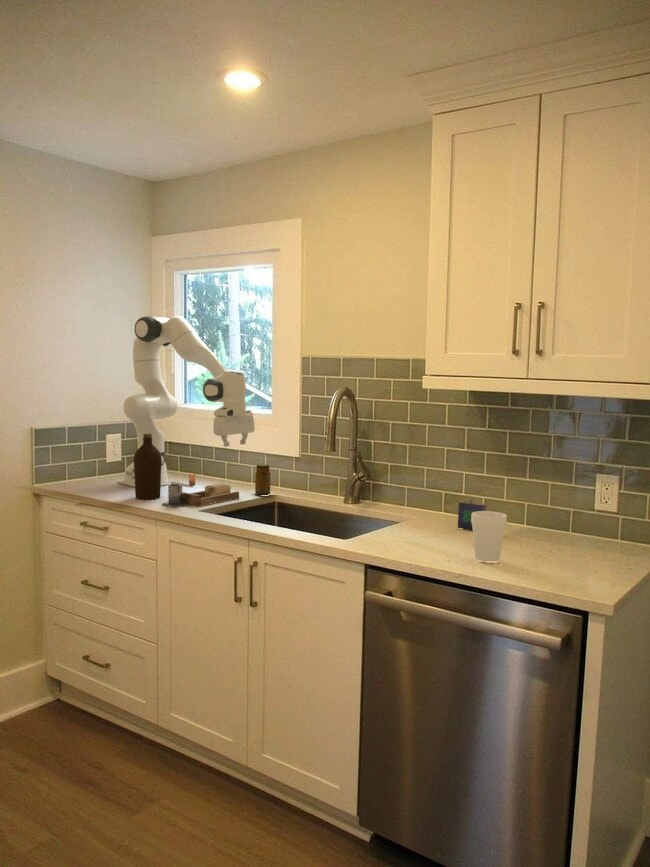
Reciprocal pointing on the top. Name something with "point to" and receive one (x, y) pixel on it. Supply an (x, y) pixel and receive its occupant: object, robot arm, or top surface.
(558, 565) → the top surface
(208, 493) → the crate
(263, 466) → the condiment
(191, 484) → the crank
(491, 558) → the foam cup
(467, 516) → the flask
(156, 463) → the olive oil
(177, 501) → the grey cylinder
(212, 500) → the bay
